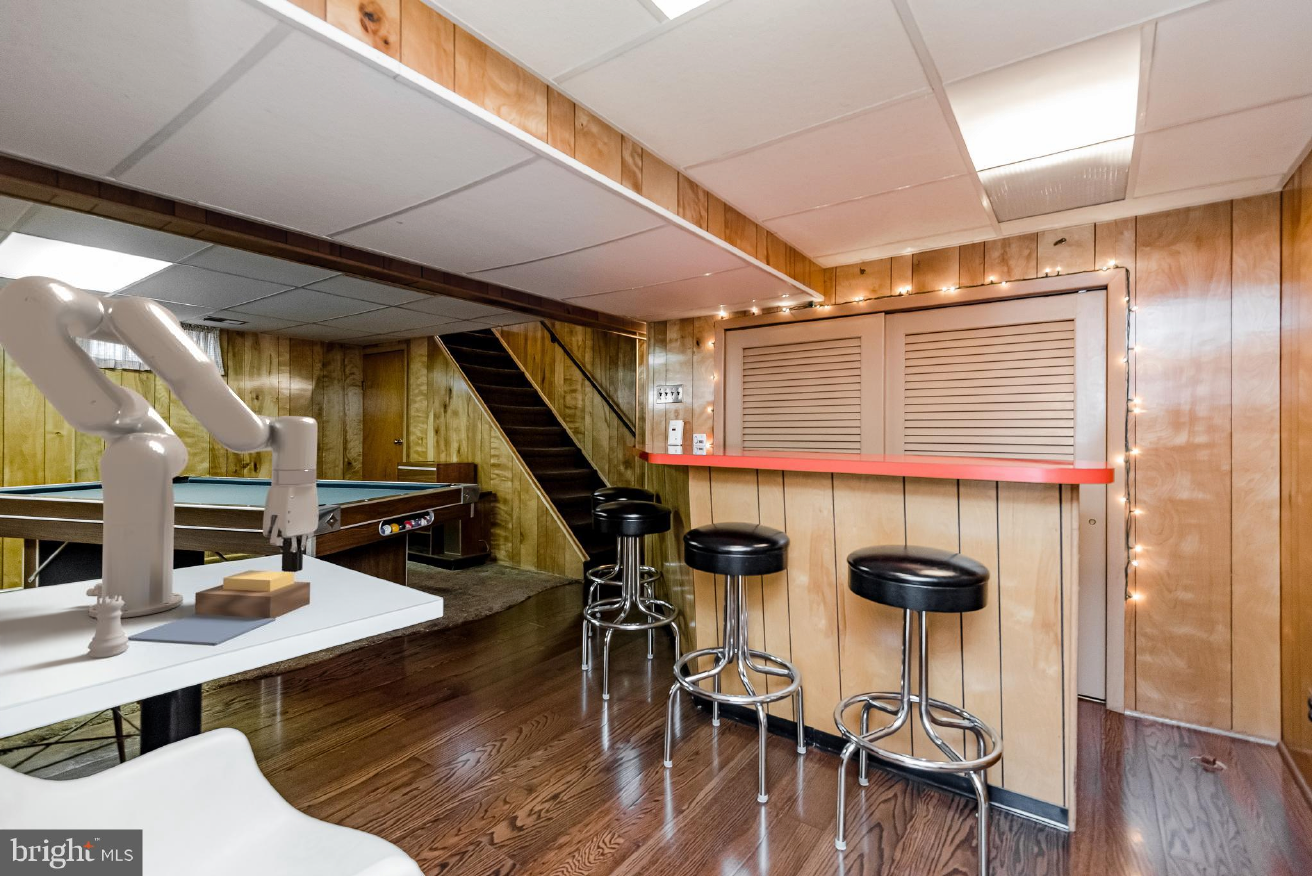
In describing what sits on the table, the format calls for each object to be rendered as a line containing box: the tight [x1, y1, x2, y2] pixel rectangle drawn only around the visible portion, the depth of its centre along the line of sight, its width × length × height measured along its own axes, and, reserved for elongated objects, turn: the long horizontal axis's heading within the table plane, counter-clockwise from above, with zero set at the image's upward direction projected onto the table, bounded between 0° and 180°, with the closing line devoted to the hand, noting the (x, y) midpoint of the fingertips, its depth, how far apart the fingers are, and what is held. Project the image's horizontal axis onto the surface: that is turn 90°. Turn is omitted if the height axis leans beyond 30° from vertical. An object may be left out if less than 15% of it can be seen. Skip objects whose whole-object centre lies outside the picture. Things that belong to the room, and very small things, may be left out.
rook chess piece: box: [86, 596, 130, 659], centre depth 83 cm, size 4×4×8 cm
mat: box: [127, 613, 277, 646], centre depth 94 cm, size 15×12×1 cm
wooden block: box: [194, 581, 311, 618], centre depth 105 cm, size 14×10×4 cm
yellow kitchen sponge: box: [222, 570, 295, 591], centre depth 106 cm, size 9×6×2 cm, turn 85°
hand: (292, 570), depth 114 cm, fingers closed
